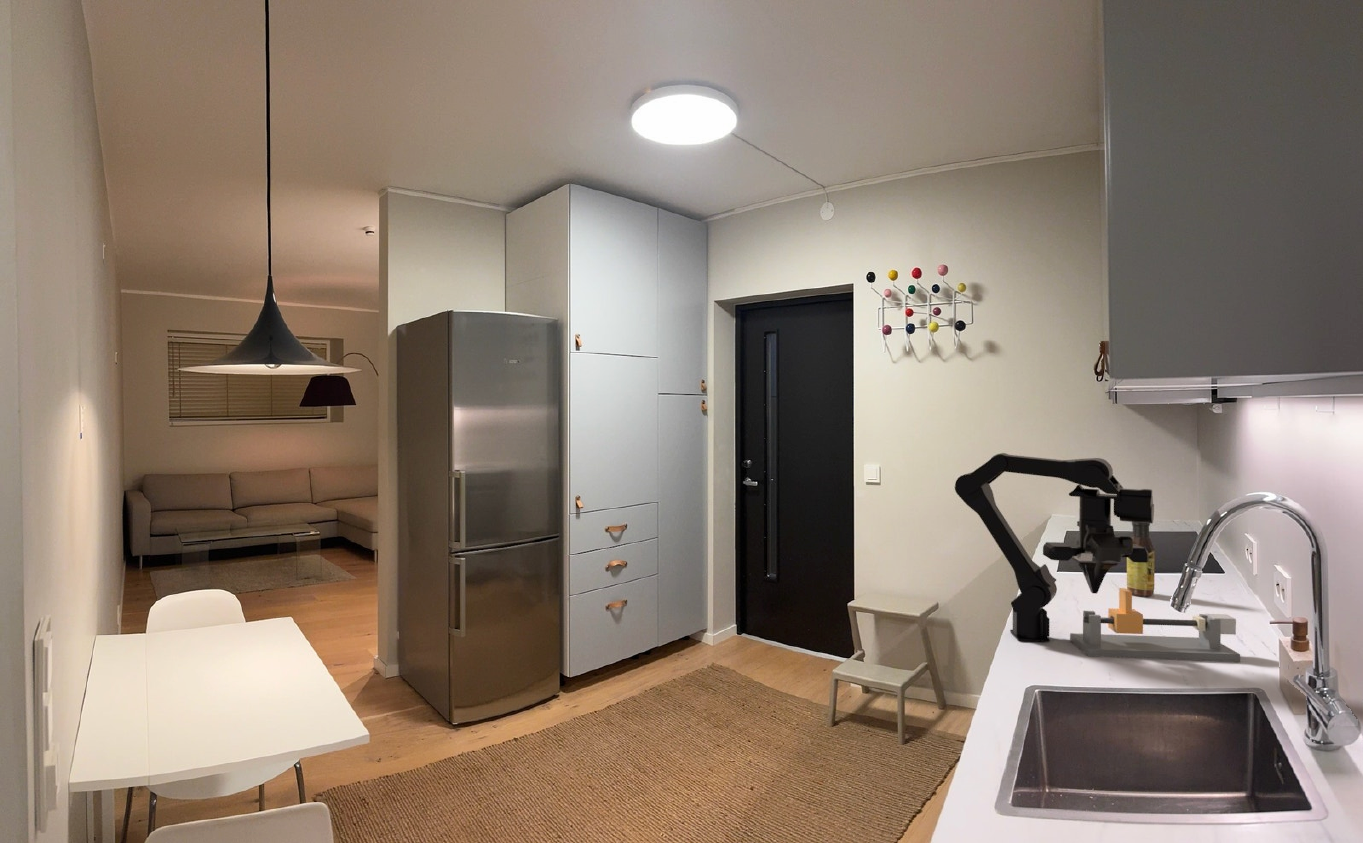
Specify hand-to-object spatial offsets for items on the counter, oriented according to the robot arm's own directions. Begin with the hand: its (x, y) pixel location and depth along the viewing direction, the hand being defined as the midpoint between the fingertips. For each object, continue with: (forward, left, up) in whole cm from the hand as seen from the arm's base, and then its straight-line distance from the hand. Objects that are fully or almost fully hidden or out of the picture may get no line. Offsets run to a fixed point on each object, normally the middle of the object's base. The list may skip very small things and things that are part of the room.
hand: (1094, 593), depth 153 cm
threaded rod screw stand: (+11, 0, -12) cm, 16 cm away
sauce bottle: (+29, +46, -12) cm, 56 cm away
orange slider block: (+6, 0, -8) cm, 10 cm away
